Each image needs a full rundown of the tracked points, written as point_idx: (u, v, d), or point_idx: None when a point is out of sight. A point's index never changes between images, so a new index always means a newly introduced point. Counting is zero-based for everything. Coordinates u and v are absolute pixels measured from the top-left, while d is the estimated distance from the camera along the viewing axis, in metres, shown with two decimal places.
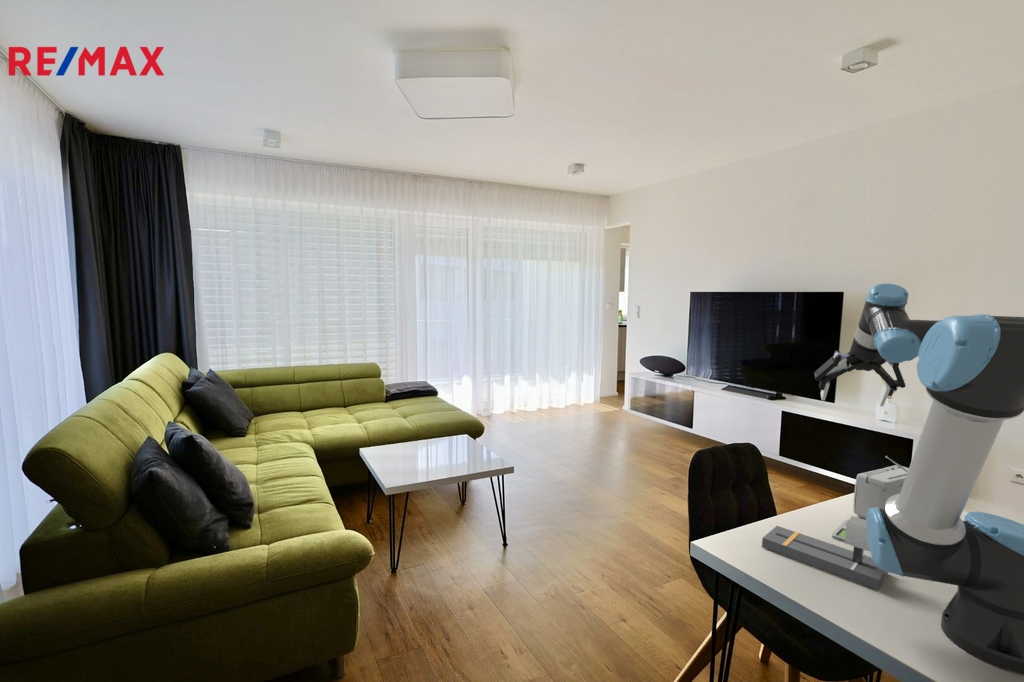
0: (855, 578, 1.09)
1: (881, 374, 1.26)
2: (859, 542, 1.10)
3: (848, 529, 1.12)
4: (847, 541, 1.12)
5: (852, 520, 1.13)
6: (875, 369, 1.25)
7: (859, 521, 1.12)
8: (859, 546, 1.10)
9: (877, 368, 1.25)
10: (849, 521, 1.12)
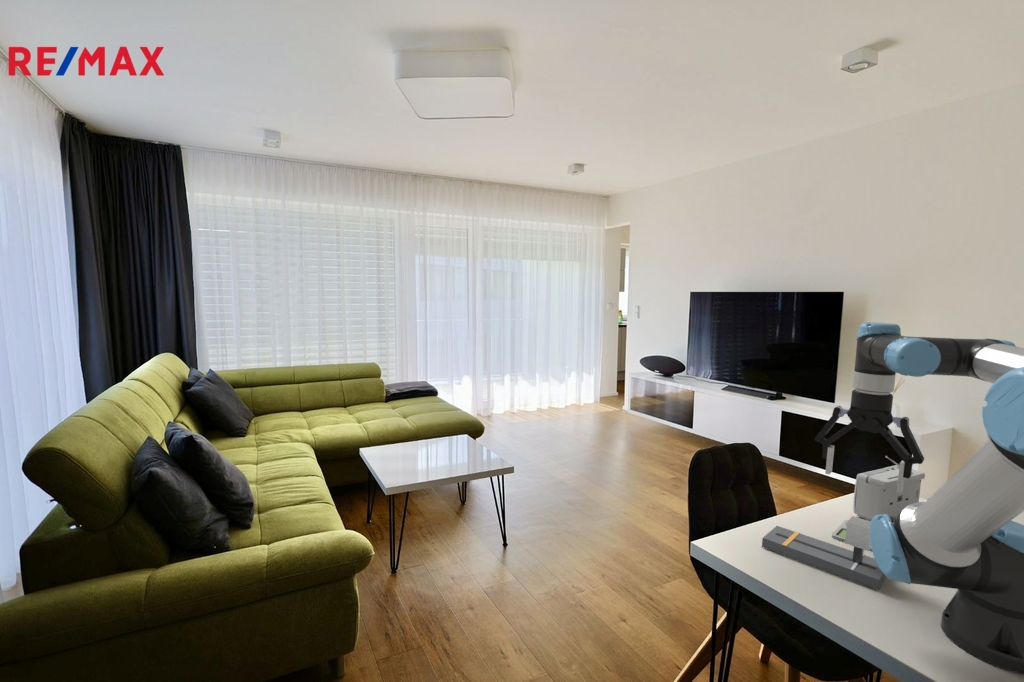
0: (855, 578, 1.09)
1: (889, 439, 1.08)
2: (859, 542, 1.10)
3: (848, 529, 1.12)
4: (847, 541, 1.12)
5: (852, 520, 1.13)
6: (879, 429, 1.08)
7: (859, 521, 1.12)
8: (859, 546, 1.10)
9: (881, 427, 1.08)
10: (849, 521, 1.12)
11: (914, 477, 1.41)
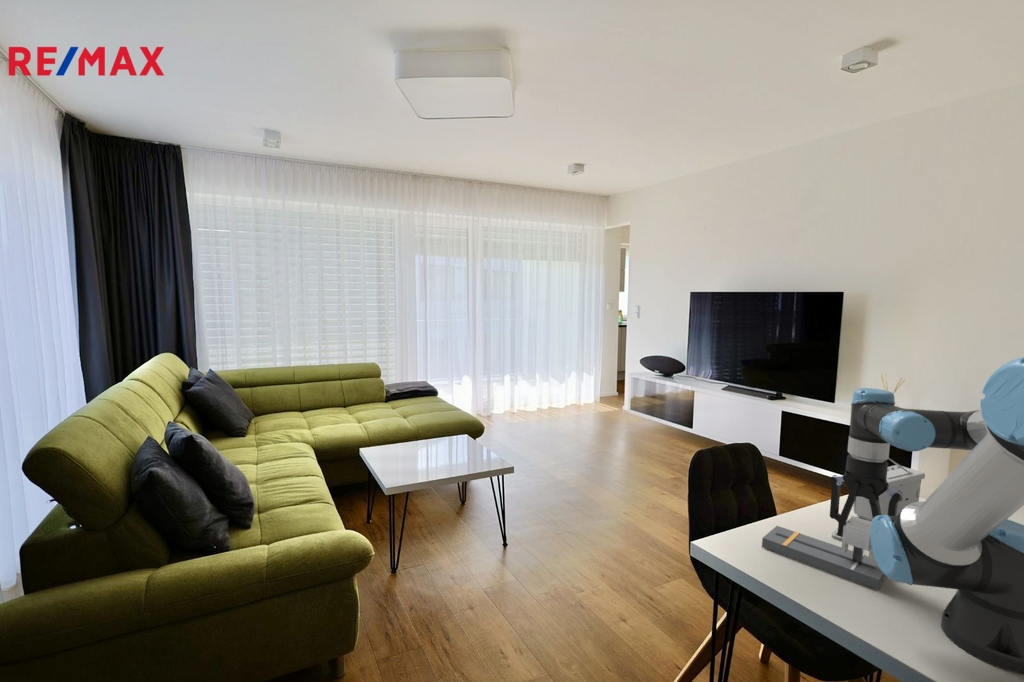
0: (855, 578, 1.09)
1: (873, 507, 1.09)
2: (859, 542, 1.10)
3: (847, 529, 1.12)
4: (847, 541, 1.12)
5: (852, 520, 1.13)
6: (870, 496, 1.09)
7: (859, 521, 1.12)
8: (859, 546, 1.10)
9: (872, 496, 1.09)
10: (849, 521, 1.12)
11: (914, 477, 1.41)
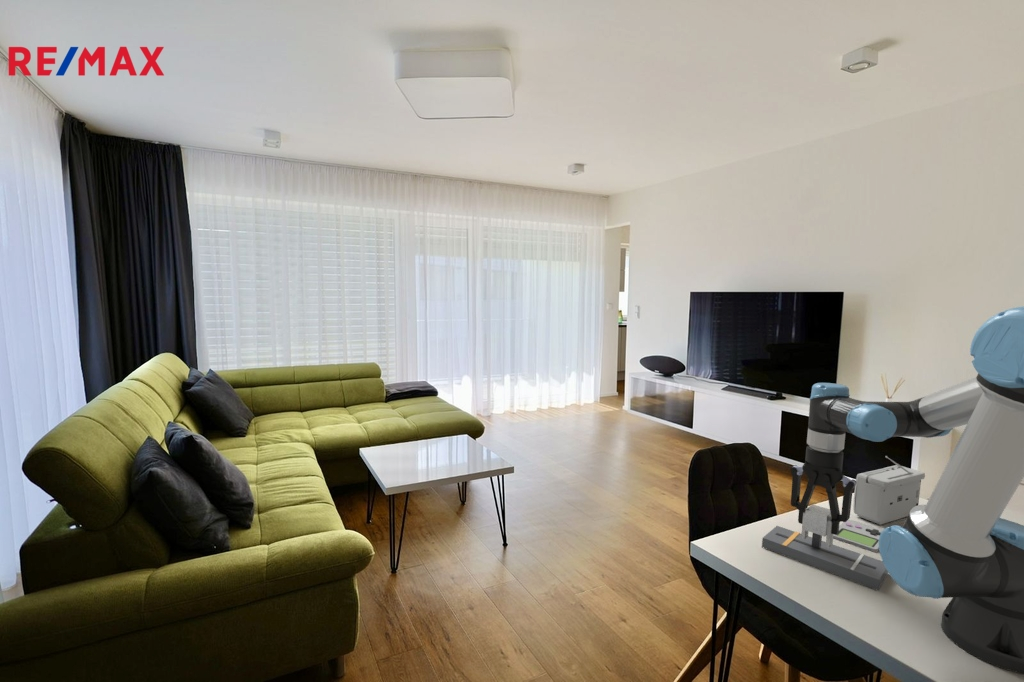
0: (855, 578, 1.09)
1: (830, 496, 1.15)
2: (817, 529, 1.16)
3: (806, 516, 1.18)
4: (806, 528, 1.18)
5: (811, 508, 1.19)
6: (826, 484, 1.15)
7: (818, 509, 1.19)
8: (817, 532, 1.16)
9: (829, 484, 1.15)
10: (808, 509, 1.18)
11: (914, 477, 1.41)
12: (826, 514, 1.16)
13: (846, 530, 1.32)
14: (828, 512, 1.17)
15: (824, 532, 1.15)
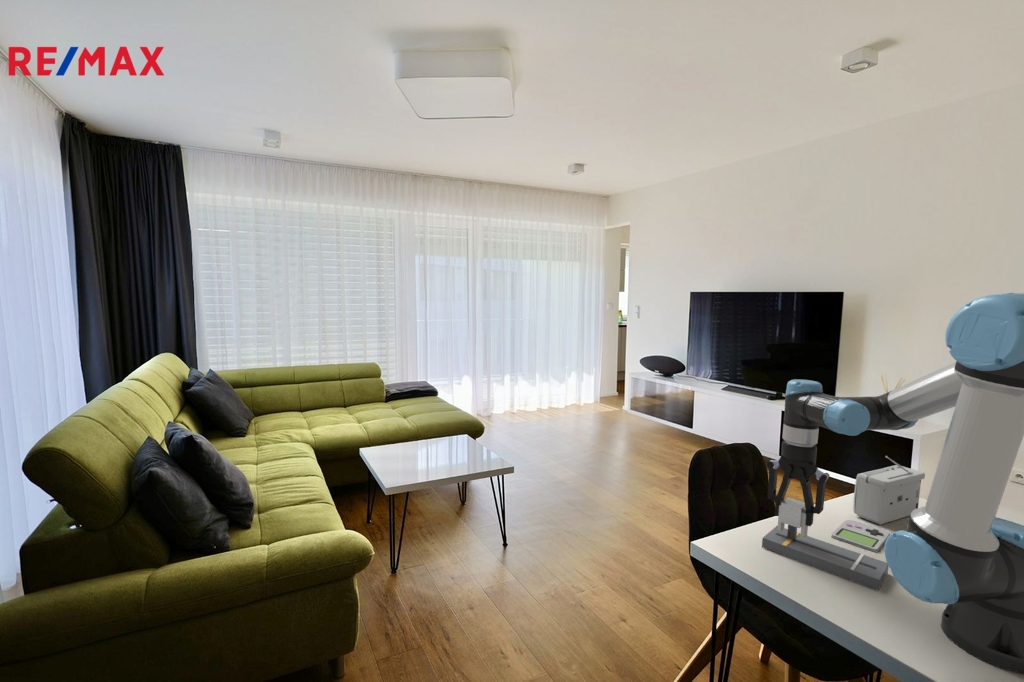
0: (855, 578, 1.09)
1: (804, 488, 1.19)
2: (792, 520, 1.20)
3: (782, 508, 1.22)
4: (781, 520, 1.22)
5: (787, 501, 1.23)
6: (801, 478, 1.19)
7: (793, 501, 1.23)
8: (792, 524, 1.20)
9: (803, 477, 1.19)
10: (784, 501, 1.22)
11: (914, 477, 1.41)
12: (800, 506, 1.20)
13: (846, 530, 1.32)
14: (803, 504, 1.21)
15: (798, 524, 1.19)
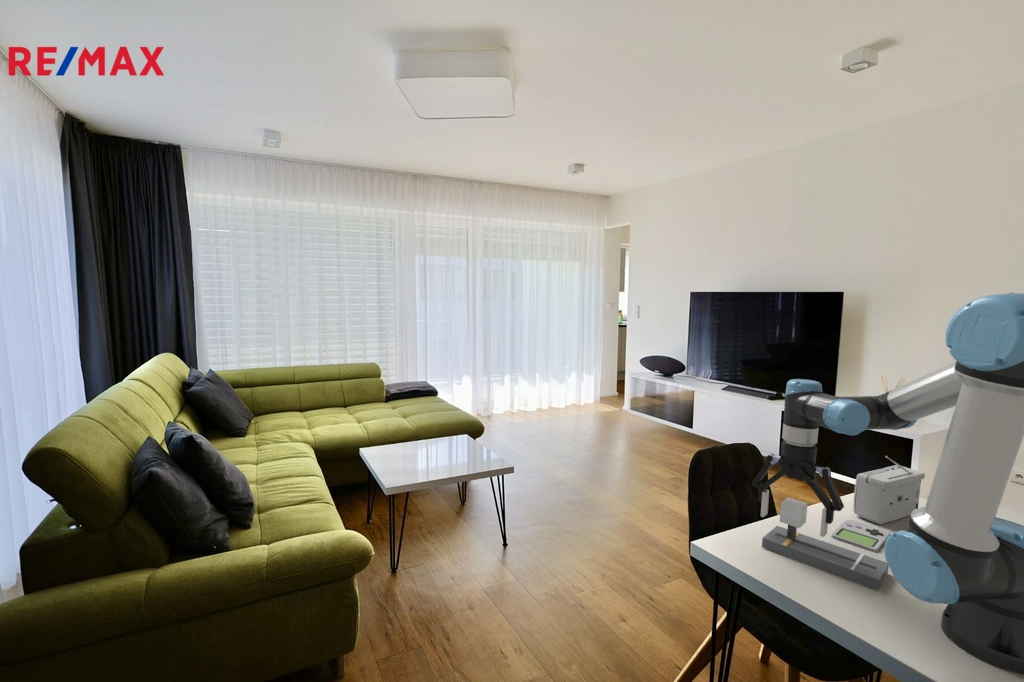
0: (855, 578, 1.09)
1: (813, 487, 1.18)
2: (791, 520, 1.20)
3: (782, 508, 1.22)
4: (781, 520, 1.22)
5: (787, 500, 1.23)
6: (804, 477, 1.19)
7: (793, 501, 1.23)
8: (791, 524, 1.20)
9: (806, 476, 1.18)
10: (783, 501, 1.22)
11: (914, 477, 1.41)
12: (800, 506, 1.20)
13: (846, 530, 1.32)
14: (802, 504, 1.21)
15: (798, 524, 1.19)
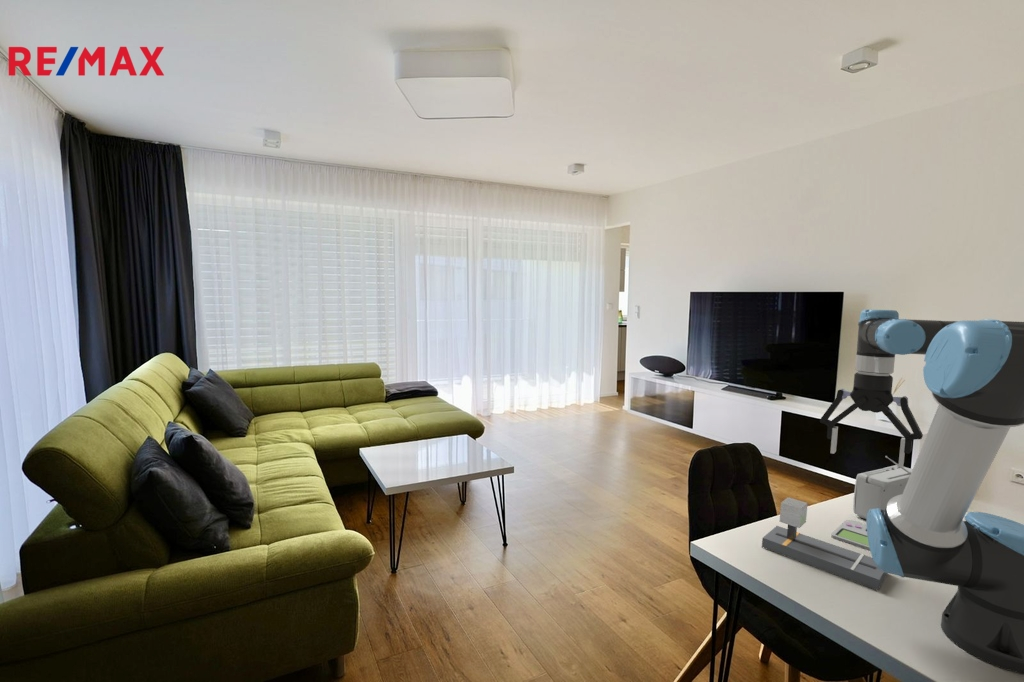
0: (855, 578, 1.09)
1: (890, 417, 1.15)
2: (791, 520, 1.20)
3: (782, 508, 1.22)
4: (781, 520, 1.22)
5: (787, 500, 1.23)
6: (881, 408, 1.16)
7: (793, 501, 1.23)
8: (791, 524, 1.20)
9: (883, 406, 1.16)
10: (783, 501, 1.22)
11: None
12: (800, 506, 1.20)
13: (846, 530, 1.32)
14: (802, 504, 1.21)
15: (798, 524, 1.19)
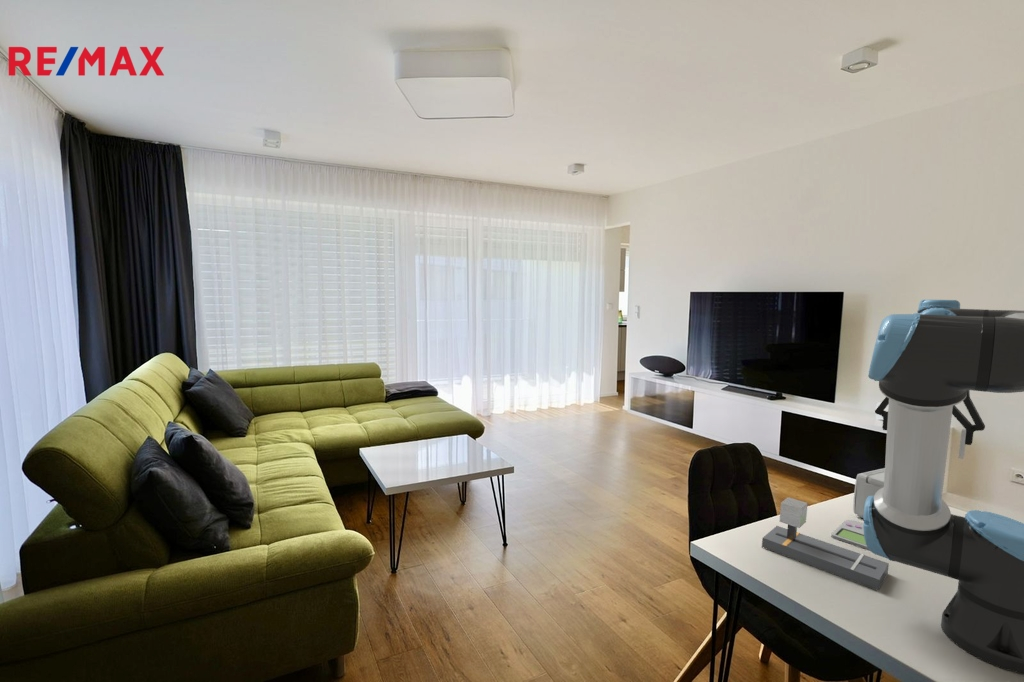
0: (855, 578, 1.09)
1: None
2: (791, 520, 1.20)
3: (782, 508, 1.22)
4: (781, 520, 1.22)
5: (787, 500, 1.23)
6: None
7: (793, 501, 1.23)
8: (791, 524, 1.20)
9: None
10: (783, 501, 1.22)
11: None
12: (800, 506, 1.20)
13: (846, 530, 1.32)
14: (802, 504, 1.21)
15: (798, 524, 1.19)
